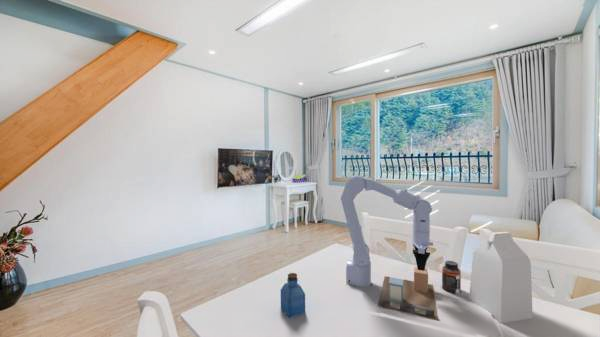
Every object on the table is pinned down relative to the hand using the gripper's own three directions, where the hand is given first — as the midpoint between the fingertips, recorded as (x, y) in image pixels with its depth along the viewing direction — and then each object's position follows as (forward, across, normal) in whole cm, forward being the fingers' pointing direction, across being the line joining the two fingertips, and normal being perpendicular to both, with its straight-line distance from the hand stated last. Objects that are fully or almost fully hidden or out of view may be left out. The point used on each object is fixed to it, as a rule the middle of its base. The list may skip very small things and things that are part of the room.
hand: (420, 265), depth 94 cm
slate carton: (+9, -12, +8) cm, 17 cm away
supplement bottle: (+10, +4, -10) cm, 15 cm away
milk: (+10, -2, -24) cm, 26 cm away
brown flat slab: (+10, -6, +4) cm, 13 cm away
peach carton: (+9, 0, 0) cm, 9 cm away
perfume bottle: (+10, -30, +40) cm, 51 cm away
